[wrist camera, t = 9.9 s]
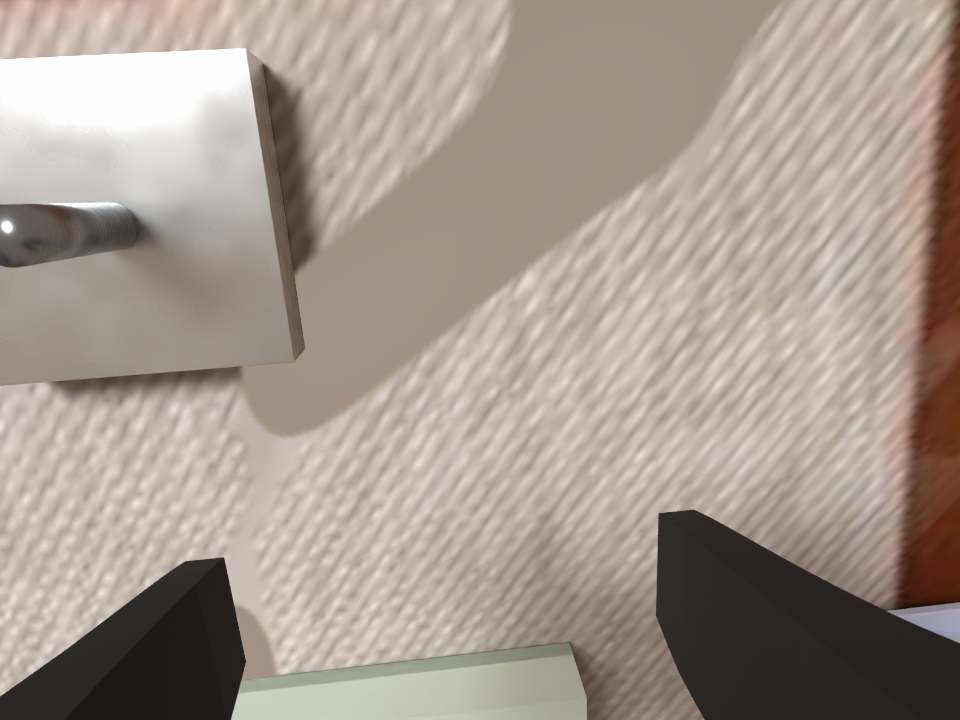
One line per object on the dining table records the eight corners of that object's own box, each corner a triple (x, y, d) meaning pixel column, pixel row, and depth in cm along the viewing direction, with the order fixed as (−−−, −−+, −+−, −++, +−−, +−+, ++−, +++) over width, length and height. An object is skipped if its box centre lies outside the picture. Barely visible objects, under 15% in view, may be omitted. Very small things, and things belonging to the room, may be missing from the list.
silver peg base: (262, 62, 16) (178, -7, 10) (305, 348, 18) (253, 412, 13) (-51, 77, 15) (-306, 13, 10) (32, 370, 17) (-140, 445, 12)
